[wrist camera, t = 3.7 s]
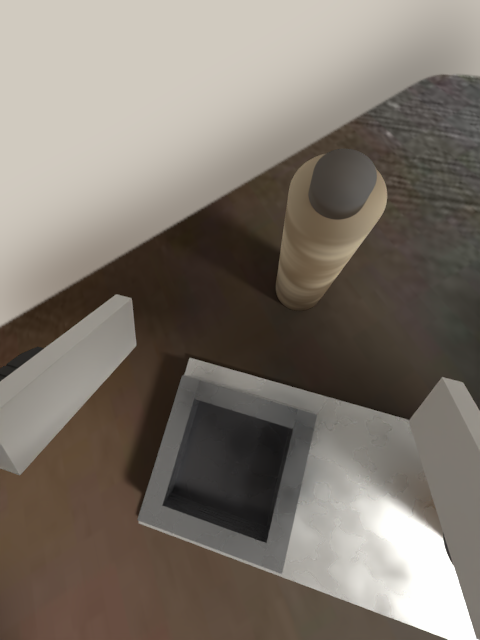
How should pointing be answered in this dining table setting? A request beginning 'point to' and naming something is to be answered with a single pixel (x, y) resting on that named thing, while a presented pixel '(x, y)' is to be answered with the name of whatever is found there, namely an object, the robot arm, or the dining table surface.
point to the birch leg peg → (326, 223)
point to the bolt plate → (306, 495)
